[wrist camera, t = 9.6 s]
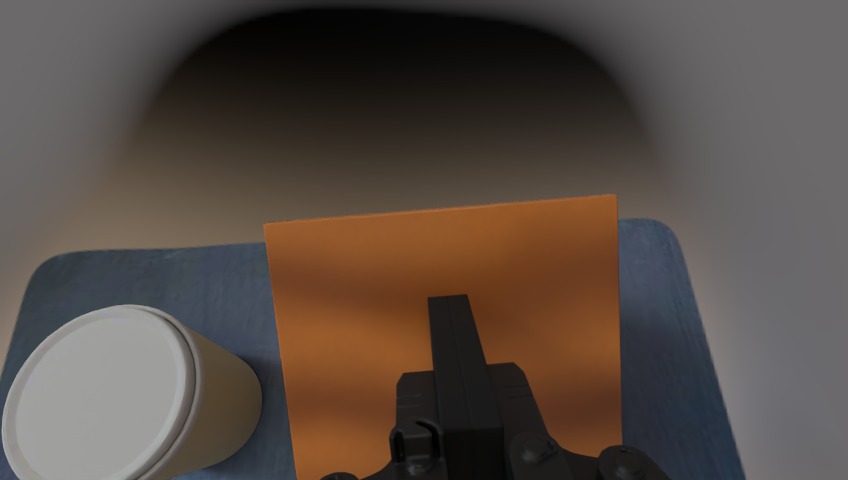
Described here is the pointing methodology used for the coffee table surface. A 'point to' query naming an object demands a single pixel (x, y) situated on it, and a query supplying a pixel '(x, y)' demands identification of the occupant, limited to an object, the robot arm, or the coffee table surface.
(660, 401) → the coffee table surface
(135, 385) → the coffee cup
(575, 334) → the lid
